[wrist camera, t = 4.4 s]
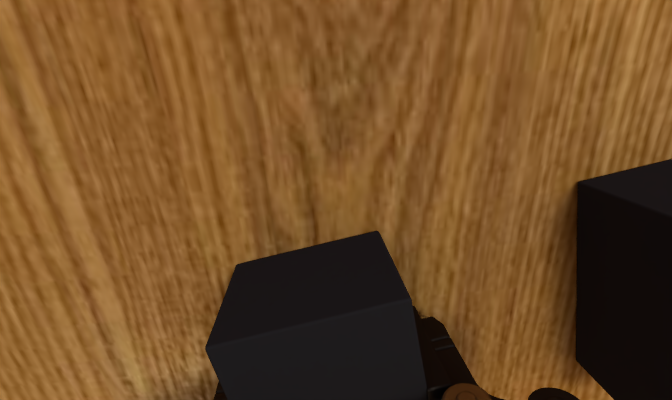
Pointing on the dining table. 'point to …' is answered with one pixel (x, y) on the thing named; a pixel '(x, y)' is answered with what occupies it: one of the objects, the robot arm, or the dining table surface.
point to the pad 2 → (626, 282)
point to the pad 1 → (319, 327)
